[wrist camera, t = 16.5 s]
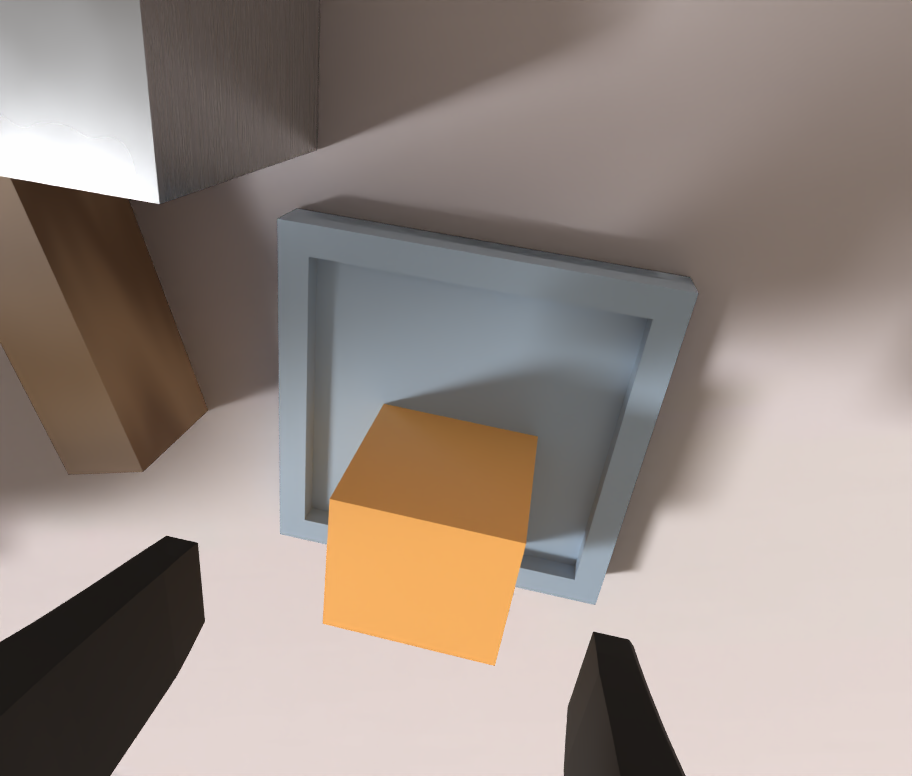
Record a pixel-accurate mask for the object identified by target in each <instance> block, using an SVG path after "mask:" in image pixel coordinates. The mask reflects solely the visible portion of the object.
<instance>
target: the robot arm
mask: <svg viewBox="0 0 912 776" xmlns="http://www.w3.org/2000/svg"><path fill="white" fill-rule="evenodd" d="M204 622H205V617H204V606H203V595H202V584H201V573H200V562H199V551H198V543H196V542H192V541H187V540H183V539H178V538H174V537H170V536H165V537H164V538H162V539H161V540H159V541H158V542H156V543H155V544H153V545H151V546H150V547H148V548H147V549H145V550H144V551H142V552H141V553H139V554H138V555H136V556H135V557H133V558H132V559H130V560H129V561H127V562H126V563H124V564H123V565H121V566H120V567H118V568H117V569H115V570H114V571H112V572H111V573H109V574H108V575H106V576H105V577H103V578H102V579H100V580H99V581H97V582H95V583H94V584H92V585H91V586H89V587H88V588H86V589H85V590H83V591H82V592H80V593H79V594H77V595H75V596H74V597H72V598H71V599H69V600H68V601H66V602H65V603H63V604H61V605H60V606H58V607H57V608H55V609H54V610H52V611H51V612H49V613H47V614H46V615H44V616H43V617H41V618H39V619H38V620H36V621H35V622H33V623H31V624H30V625H28V626H26V627H25V628H23V629H21V630H20V631H18V632H16V633H15V634H13V635H11V636H10V637H8V638H6V639H4V640H3V641H1V642H0V776H110V775H111V774H112V772H113V771H114V769H115V768H116V766H117V765H118V763H119V762H120V760H121V759H122V757H123V756H124V754H125V753H126V751H127V750H128V748H129V747H130V746H131V744H132V743H133V741H134V740H135V738H136V737H137V735H138V734H139V732H140V731H141V729H142V728H143V726H144V725H145V723H146V722H147V720H148V719H149V717H150V716H151V714H152V713H153V711H154V710H155V708H156V707H157V705H158V704H159V702H160V701H161V699H162V698H163V696H164V695H165V693H166V692H167V690H168V689H169V687H170V686H171V684H172V682H173V681H174V679H175V678H176V676H177V675H178V673H179V671H180V669H181V667H182V665H183V663H184V662H185V660H186V658H187V656H188V654H189V652H190V650H191V648H192V646H193V644H194V642H195V640H196V638H197V636H198V634H199V632H200V630H201V628H202V626H203V624H204ZM564 776H685V774H684V771H683V769H682V767H681V765H680V762H679V760H678V758H677V756H676V754H675V751H674V749H673V747H672V745H671V742H670V740H669V738H668V735H667V733H666V731H665V728H664V726H663V724H662V721H661V719H660V716H659V714H658V711H657V709H656V706H655V704H654V701H653V699H652V696H651V694H650V691H649V688H648V686H647V683H646V680H645V678H644V675H643V672H642V669H641V667H640V664H639V661H638V658H637V655H636V652H635V649H634V646H633V645H632V643H631V642H630V640H628V639H624V638H619V637H615V636H610V635H606V634H602V633H597V632H593V634H592V637H591V640H590V643H589V646H588V649H587V652H586V655H585V658H584V660H583V663H582V666H581V669H580V672H579V675H578V678H577V681H576V684H575V687H574V690H573V693H572V696H571V699H570V702H569V705H568V711H567V726H566V740H565V758H564Z"/></svg>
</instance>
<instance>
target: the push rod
mask: <svg viewBox="0 0 912 776" xmlns="http://www.w3.org/2000/svg"><path fill="white" fill-rule="evenodd" d="M0 343H1V345H2V347H3V349H4V351H5V353H6V355H7V357H8V358H9V360H10V362H11V364H12V366H13V368H14V370H15V372H16V374H17V376H18V378H19V380H20V382H21V384H22V386H23V388H24V390H25V391H26V393H27V395H28V397H29V399H30V401H31V403H32V405H33V407H34V409H35V411H36V413H37V415H38V417H39V419H40V421H41V422H42V424H43V426H44V428H45V430H46V432H47V434H48V436H49V438H50V440H51V442H52V444H53V446H54V448H55V450H56V452H57V453H58V455H59V457H60V459H61V461H62V463H63V465H64V467H65V469H66V471H67V473H68V475H71V474H97V473H123V472H143V471H144V470H145V469H147V468H148V467H149V466H150V465H151V464H152V463H153V462H154V461H155V460H156V459H157V458H158V457H159V456H160V455H161V454H162V453H163V452H165V451H166V450H167V449H168V448H169V447H170V446H171V445H172V444H173V443H174V442H175V441H176V440H177V439H178V438H179V437H180V436H182V435H183V434H184V433H185V432H186V431H187V430H188V429H189V428H190V427H191V426H192V425H193V424H194V423H195V422H196V421H197V420H199V419H200V418H201V417H202V416H203V415H204V414H205V413H206V412H207V411H208V409H207V406H206V403H205V401H204V398H203V395H202V393H201V390H200V387H199V385H198V382H197V380H196V377H195V374H194V372H193V369H192V366H191V364H190V361H189V358H188V356H187V353H186V350H185V348H184V345H183V342H182V340H181V337H180V335H179V332H178V329H177V327H176V324H175V321H174V319H173V316H172V313H171V311H170V308H169V305H168V303H167V300H166V297H165V295H164V292H163V290H162V287H161V284H160V282H159V279H158V276H157V274H156V271H155V268H154V266H153V263H152V260H151V258H150V255H149V252H148V250H147V247H146V245H145V242H144V239H143V237H142V234H141V231H140V229H139V226H138V223H137V221H136V218H135V215H134V213H133V210H132V207H131V205H130V202H129V200H128V198H123V197H117V196H111V195H106V194H100V193H95V192H89V191H83V190H78V189H72V188H67V187H61V186H55V185H50V184H44V183H38V182H33V181H27V180H22V179H16V178H10V177H5V176H0Z"/></svg>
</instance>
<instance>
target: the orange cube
mask: <svg viewBox="0 0 912 776" xmlns="http://www.w3.org/2000/svg"><path fill="white" fill-rule="evenodd" d="M537 440H538V436H533V435H529V434H524V433H519V432H515V431H510V430H505V429H500V428H496V427H491V426H486V425H482V424H477V423H472V422H468V421H463V420H458V419H453V418H449V417H444V416H439V415H435V414H430V413H425V412H421V411H416V410H411V409H406V408H402V407H397V406H392V405H388V404H383V406H382V408H381V409H380V411H379V413H378V415H377V417H376V418H375V420H374V422H373V424H372V425H371V427H370V429H369V431H368V432H367V434H366V436H365V438H364V439H363V441H362V443H361V445H360V446H359V448H358V450H357V452H356V453H355V455H354V457H353V459H352V460H351V462H350V464H349V466H348V467H347V469H346V471H345V473H344V474H343V476H342V478H341V480H340V481H339V483H338V485H337V487H336V488H335V490H334V492H333V494H332V496H331V497H330V500H329V518H328V537H327V555H326V574H325V593H324V611H323V624H327V625H331V626H335V627H339V628H343V629H347V630H351V631H355V632H359V633H363V634H367V635H371V636H375V637H380V638H384V639H388V640H392V641H396V642H400V643H404V644H408V645H412V646H416V647H420V648H424V649H428V650H432V651H436V652H441V653H445V654H449V655H453V656H457V657H461V658H465V659H469V660H473V661H477V662H481V663H485V664H489V665H493V666H495V663H496V659H497V655H498V651H499V647H500V643H501V639H502V636H503V632H504V628H505V624H506V620H507V616H508V612H509V608H510V604H511V601H512V597H513V593H514V589H515V585H516V581H517V577H518V573H519V569H520V565H521V562H522V558H523V554H524V550H525V546H526V540H527V531H528V522H529V513H530V504H531V495H532V486H533V476H534V467H535V458H536V449H537Z"/></svg>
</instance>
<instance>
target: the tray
mask: <svg viewBox="0 0 912 776" xmlns="http://www.w3.org/2000/svg"><path fill="white" fill-rule="evenodd" d="M277 236H278V348H279V460H280V534H282V535H287V536H291V537H296V538H300V539H305V540H309V541H313V542H318V543H322V544H327V537H328V518H329V500H330V497H331V496H332V494H333V492H334V490H335V488H336V487H337V485H338V483H339V481H340V480H341V478H342V476H343V474H344V473H345V471H346V469H347V467H348V466H349V464H350V462H351V460H352V459H353V457H354V455H355V453H356V452H357V450H358V448H359V446H360V445H361V443H362V441H363V439H364V438H365V436H366V434H367V432H368V431H369V429H370V427H371V425H372V424H373V422H374V420H375V418H376V417H377V415H378V413H379V411H380V409H381V408H382V406H383V404H388V405H392V406H397V407H402V408H406V409H411V410H416V411H421V412H425V413H430V414H435V415H439V416H444V417H449V418H453V419H458V420H463V421H468V422H472V423H477V424H482V425H486V426H491V427H496V428H500V429H505V430H510V431H515V432H519V433H524V434H529V435H533V436H538V440H537V449H536V458H535V467H534V476H533V486H532V495H531V504H530V513H529V522H528V531H527V540H526V546H525V550H524V554H523V558H522V562H521V565H520V569H519V573H518V577H517V581H516V585H515V587H518V588H522V589H527V590H531V591H536V592H540V593H544V594H549V595H553V596H558V597H562V598H567V599H571V600H576V601H580V602H584V603H589V604H593V605H595V604H596V601H597V598H598V595H599V592H600V589H601V586H602V583H603V580H604V577H605V574H606V571H607V568H608V565H609V562H610V559H611V556H612V553H613V550H614V547H615V544H616V541H617V538H618V535H619V532H620V529H621V526H622V523H623V520H624V517H625V514H626V511H627V508H628V505H629V502H630V499H631V495H632V492H633V489H634V486H635V483H636V480H637V477H638V474H639V471H640V468H641V465H642V462H643V459H644V456H645V453H646V450H647V447H648V444H649V441H650V438H651V435H652V432H653V429H654V426H655V423H656V420H657V417H658V414H659V411H660V408H661V405H662V402H663V399H664V396H665V393H666V390H667V387H668V384H669V381H670V378H671V375H672V372H673V369H674V366H675V363H676V360H677V357H678V354H679V351H680V347H681V344H682V341H683V338H684V335H685V332H686V329H687V326H688V323H689V320H690V317H691V314H692V311H693V308H694V305H695V302H696V299H697V296H698V291H697V289H696V287H695V286H694V284H693V282H692V280H691V278H690V277H686V276H680V275H675V274H669V273H663V272H658V271H652V270H646V269H640V268H635V267H629V266H623V265H618V264H612V263H606V262H600V261H595V260H589V259H583V258H578V257H572V256H566V255H560V254H555V253H549V252H543V251H538V250H532V249H526V248H520V247H515V246H509V245H503V244H498V243H492V242H486V241H480V240H475V239H469V238H463V237H458V236H452V235H446V234H440V233H435V232H429V231H423V230H418V229H412V228H406V227H400V226H395V225H389V224H383V223H378V222H372V221H366V220H360V219H355V218H349V217H343V216H338V215H332V214H326V213H320V212H315V211H309V210H303V209H298V208H297V209H295V210H293V211H291V212H289V213H287V214H285V215H283V216H281V217H280V218H278V219H277Z"/></svg>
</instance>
